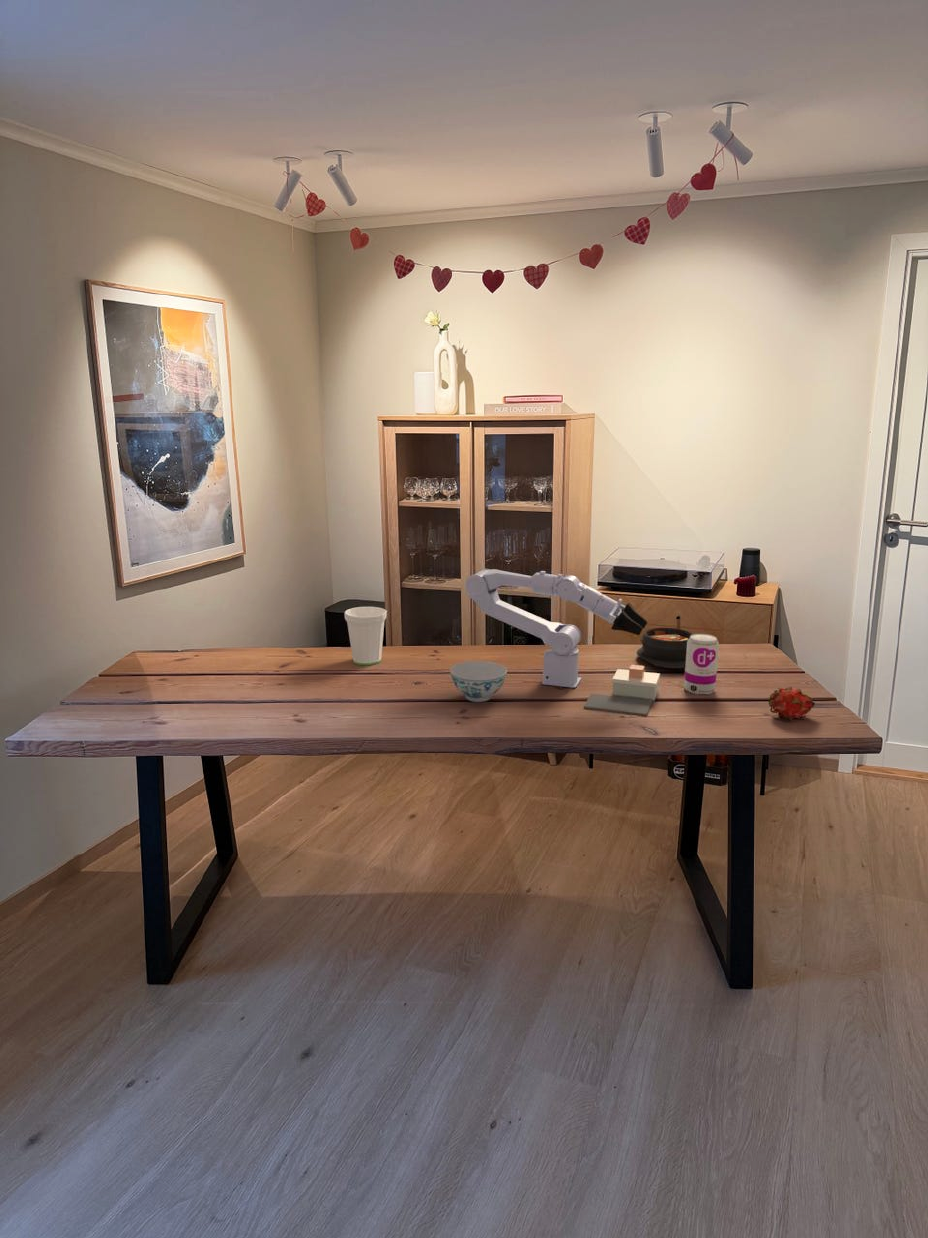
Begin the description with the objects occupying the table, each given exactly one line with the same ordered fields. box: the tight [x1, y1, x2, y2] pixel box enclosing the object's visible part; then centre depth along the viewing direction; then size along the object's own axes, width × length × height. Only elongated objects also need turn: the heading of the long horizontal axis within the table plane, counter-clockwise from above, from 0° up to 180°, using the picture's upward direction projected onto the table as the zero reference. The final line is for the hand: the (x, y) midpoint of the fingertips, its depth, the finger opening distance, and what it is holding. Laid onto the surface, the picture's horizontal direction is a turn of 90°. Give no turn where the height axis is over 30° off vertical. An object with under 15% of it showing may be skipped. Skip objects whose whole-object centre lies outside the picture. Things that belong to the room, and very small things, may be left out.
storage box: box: [611, 680, 660, 702], centre depth 231 cm, size 11×8×4 cm
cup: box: [344, 606, 387, 666], centre depth 256 cm, size 12×12×15 cm
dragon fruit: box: [768, 686, 816, 721], centre depth 215 cm, size 8×8×12 cm
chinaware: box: [449, 660, 508, 703], centre depth 227 cm, size 15×15×8 cm
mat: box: [583, 693, 653, 717], centre depth 223 cm, size 16×10×1 cm, turn 71°
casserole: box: [636, 627, 694, 669], centre depth 258 cm, size 25×19×8 cm
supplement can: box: [683, 633, 720, 695], centre depth 232 cm, size 8×8×15 cm
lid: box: [611, 664, 661, 687], centre depth 230 cm, size 11×8×4 cm
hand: (643, 628), depth 228 cm, fingers open, 7 cm apart
